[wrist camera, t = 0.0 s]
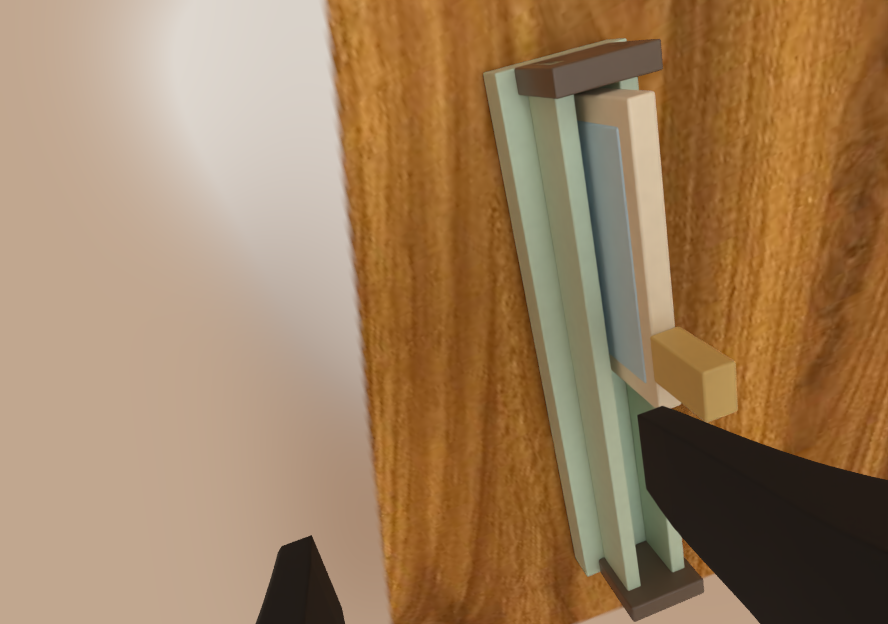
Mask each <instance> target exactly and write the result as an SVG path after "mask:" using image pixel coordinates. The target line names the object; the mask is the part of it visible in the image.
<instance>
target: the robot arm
mask: <svg viewBox="0 0 888 624" xmlns="http://www.w3.org/2000/svg"><path fill="white" fill-rule="evenodd" d="M637 418H638V426H639V435H640V443H641V451H642V459H643V468H644V476H645V484H646V490H647V491H648V492H649V494H650V495H651V497H652V498H653V500H654V501H655V503H656V504H657V506H658V507H659V508H660V510H661V511H662V513H663V514H664V515H665V517H666V518H667V520H668V521H669V522H670V524H671V525H672V526H673V528H674V529H675V530H676V531H677V532H678V533H679V535H680V536H681V537H682V538H683V539H684V540H685V541H686V542H687V543H688V545H689V546H690V547H691V548H692V549H693V550H694V551H695V552H696V553H697V554H698V556H699V557H700V558H701V559H702V560H703V561H704V562H705V563H706V564H707V565H708V566H709V568H710V569H711V570H712V571H713V572H714V573H715V574H716V575H717V576H718V577H719V578H720V579H721V580H722V582H723V583H724V584H725V585H726V586H727V587H728V588H729V589H730V590H731V591H732V592H733V594H734V595H736V597H737V598H738V599H739V600H740V601H741V602H742V603H743V604H744V605H745V607H746V608H747V609H748V610H749V611H750V612H751V613H752V615H753V616H754V617H755V618H756V619H757V620H758V622H759V623H760V624H888V480H884V479H880V478H875V477H871V476H867V475H863V474H859V473H855V472H851V471H847V470H843V469H839V468H835V467H831V466H828V465H825V464H821V463H818V462H814V461H811V460H808V459H805V458H802V457H799V456H795V455H792V454H789V453H786V452H783V451H780V450H777V449H774V448H771V447H769V446H766V445H763V444H760V443H758V442H755V441H752V440H749V439H747V438H744V437H742V436H739V435H736V434H734V433H731V432H729V431H726V430H723V429H721V428H718V427H716V426H713V425H711V424H708V423H706V422H703V421H701V420H699V419H696V418H694V417H691V416H689V415H686V414H684V413H681V412H678V411H676V410H673V409H670V408H668V407H665V406H660V407H657V408H655V409H652V410H649V411H647V412H644V413H641V414H638V415H637ZM256 624H345V621H344V616H343V611H342V607H341V605H340V602H339V600H338V597H337V595H336V593H335V590H334V588H333V585H332V583H331V580H330V578H329V576H328V573H327V571H326V568H325V566H324V564H323V561H322V559H321V556H320V554H319V552H318V549H317V547H316V545H315V542H314V540H313V537H312V535H311V536H308V537H306V538H303V539H300V540H298V541H295V542H292V543H289V544H287V545H284V546H282V547H281V548H280V550H279V552H278V554H277V559H276V562H275V566H274V569H273V573H272V577H271V579H270V583H269V586H268V589H267V592H266V595H265V599H264V602H263V605H262V608H261V610H260V613H259V616H258V619H257V622H256Z"/></svg>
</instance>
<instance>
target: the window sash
mask: <svg viewBox="0 0 888 624" xmlns="http://www.w3.org/2000/svg"><path fill="white" fill-rule="evenodd" d="M574 101H575V109H576V116H577V123H578V131H579V138H580V145H581V153H582V160H583V167H584V175H585V182H586V189H587V196H588V204H589V211H590V218H591V226H592V233H593V240H594V248H595V255H596V262H597V270H598V277H599V284H600V291H601V299H602V306H603V313H604V321H605V328H606V335H607V343H608V350H609V357H610V365H611V370H612V371H613V372H614V373H616V374H617V375H618V376H619V377H620V378H621V379H622V380H624V381H625V382H626V383H627V384H628V385H629V386H630V387H632V388H633V389H634V390H635V391H636V392H637V393H639V394H640V395H641V396H642V397H643V398H644V399H645V400H647V401H648V402H649V403H650V404H651V405H652V406H654V407H655V408H657V407H660V406H665V407H668V408H673V407H676V406H678V405H680V404H681V403H682V404H683V405H685V406H686V407H687V408H688V409H690V410H691V411H692V412H693V413H695V414H696V415H697V416H698V417H700V418H701V419H702V420H703V421H705V422H710V421H713V420H715V419H718V418H721V417H723V416H726V415H729V414H731V413H734V412H736V411H737V410H738V407H737V383H736V363H735V361H734V360H732V359H731V358H729V357H728V356H726V355H724V354H723V353H721V352H720V351H718V350H716V349H715V348H713V347H712V346H710V345H708V344H707V343H705V342H704V341H702V340H700V339H699V338H697V337H695V336H694V335H692V334H691V333H689V332H687V331H686V330H684V329H683V328H681V327H676V328H675V323H674V311H673V299H672V288H671V276H670V264H669V253H668V241H667V229H666V218H665V206H664V194H663V183H662V171H661V159H660V148H659V136H658V124H657V113H656V101H655V93H654V92H653V91H644V90H627V89H610V88H595V89H592V90H588V91H584V92H581V93H577V94H574Z"/></svg>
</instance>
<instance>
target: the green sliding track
mask: <svg viewBox="0 0 888 624" xmlns="http://www.w3.org/2000/svg"><path fill="white" fill-rule="evenodd" d="M662 69H663V63H662V51H661V40H660V39H651V40H638V41H627V40H626V38H620V39H608V40H604V41H600V42H596V43H593V44H589V45H585V46H581V47H578V48H574V49H570V50H566V51H563V52H559V53H555V54H552V55H548V56H544V57H540V58H537V59H533V60H529V61H525V62H522V63H518V64H514V65H510V66H507V67H503V68H499V69H495V70H492V71H488V72H485V73H483V77H484V82H485V87H486V92H487V98H488V103H489V108H490V113H491V118H492V124H493V129H494V134H495V139H496V145H497V150H498V155H499V160H500V166H501V171H502V176H503V181H504V187H505V192H506V197H507V202H508V207H509V213H510V218H511V223H512V228H513V234H514V239H515V244H516V249H517V255H518V260H519V265H520V270H521V275H522V281H523V286H524V291H525V296H526V302H527V307H528V312H529V317H530V323H531V328H532V333H533V338H534V343H535V349H536V354H537V359H538V364H539V370H540V375H541V380H542V385H543V391H544V396H545V401H546V406H547V411H548V417H549V422H550V427H551V432H552V438H553V443H554V448H555V453H556V459H557V464H558V469H559V474H560V480H561V485H562V490H563V495H564V500H565V506H566V511H567V516H568V521H569V527H570V532H571V537H572V542H573V548H574V553H575V558H576V560H577V561H578V563H579V564H580V566H581V567H582V569H583V571H584V572H585V574H586V575H587V576H591V575H593V574H595V573H598V572H600V571H601V574H602V575H603V577H604V578H605V580H606V581H607V583H608V584H609V586H610V587H611V589H612V590H613V592H614V593H615V595H616V596H617V598H618V599H619V601H620V602H621V604H622V605H623V607H624V608H625V609H626V611H627V613H628V614H629V615H630V617H631V618H632V620H633V621H634V622H636V621H638V620H641V619H643V618H645V617H648V616H650V615H652V614H654V613H657V612H659V611H662V610H664V609H666V608H669V607H671V606H674V605H676V604H678V603H681V602H683V601H685V600H688V599H690V598H692V597H695V596H697V595H699V594H702V593H703V592H704V586H703V579H702V577H701V576H700V575H699V574H698V573H697V572H696V571H695V569H694V568H693V567H692V566H691V565H690V564H689V562H688V561H687V560H686V559H685V558H684V557H683V546H682V537H681V536H680V535H679V533H678V532H677V531H676V530H675V529H674V528H673V526H672V525H671V524H670V522H669V521H668V520H667V518H666V517H665V515H664V514H663V513H662V511H661V510H660V508H659V507H658V506H657V504H656V503H655V501H654V500H653V498H652V497H651V495H650V494H649V492H648V491H647V490H646V484H645V476H644V468H643V459H642V451H641V443H640V435H639V426H638V418H637V415H638V414H641V413H644V412H647V411H649V410H652V409H655V407H654V406H652V405H651V404H650V403H649V402H648V401H647V400H645V399H644V398H643V397H642V396H641V395H640V394H639V393H637V392H636V391H635V390H634V389H633V388H632V387H630V386H629V385H628V384H627V383H626V382H625V381H624V380H622V379H621V378H620V377H619V376H618V375H617V374H616V373H614V372H613V371H612V370H611V365H610V357H609V350H608V343H607V335H606V328H605V321H604V313H603V306H602V299H601V291H600V284H599V277H598V270H597V262H596V255H595V248H594V240H593V233H592V226H591V218H590V211H589V204H588V196H587V189H586V182H585V175H584V167H583V160H582V153H581V145H580V138H579V131H578V123H577V116H576V109H575V101H574V94H577V93H581V92H584V91H588V90H592V89H595V88H610V89H627V90H639V86H638V76H642V75H645V74H649V73H652V72H656V71H659V70H662Z"/></svg>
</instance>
